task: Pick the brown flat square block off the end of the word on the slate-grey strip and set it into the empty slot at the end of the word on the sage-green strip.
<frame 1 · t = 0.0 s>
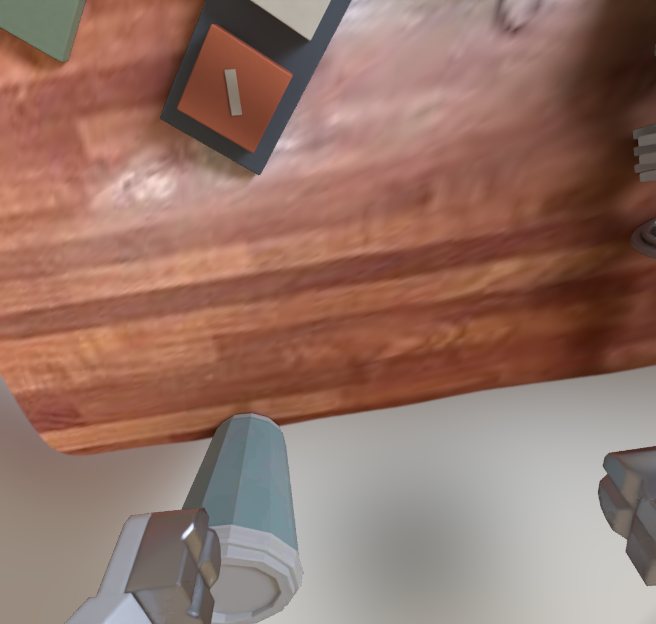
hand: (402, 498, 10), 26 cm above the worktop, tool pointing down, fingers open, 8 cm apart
brown flat square block: (237, 89, 29), point 1 cm above the worktop, touching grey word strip
disposable coffee cup: (250, 437, 45), on the worktop
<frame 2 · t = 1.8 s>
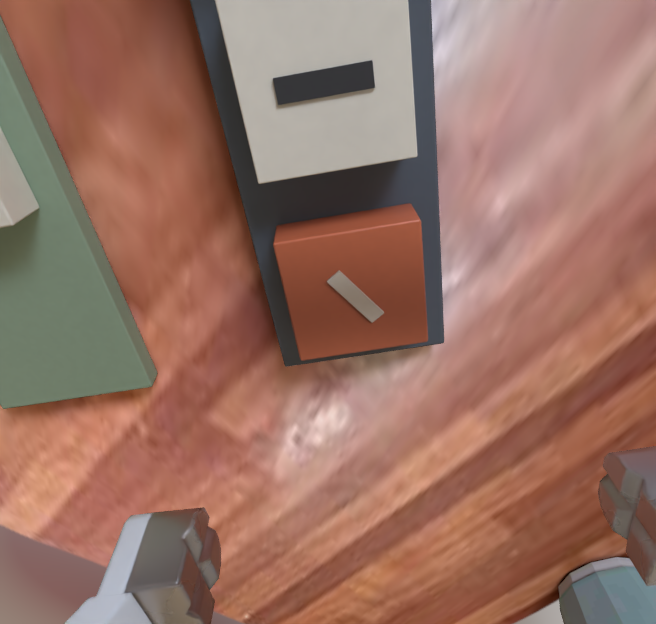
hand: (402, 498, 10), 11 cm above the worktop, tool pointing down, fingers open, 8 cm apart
brown flat square block: (351, 274, 18), point 1 cm above the worktop, touching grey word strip
disposable coffee cup: (602, 581, 33), on the worktop
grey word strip: (321, 74, 16), on the worktop
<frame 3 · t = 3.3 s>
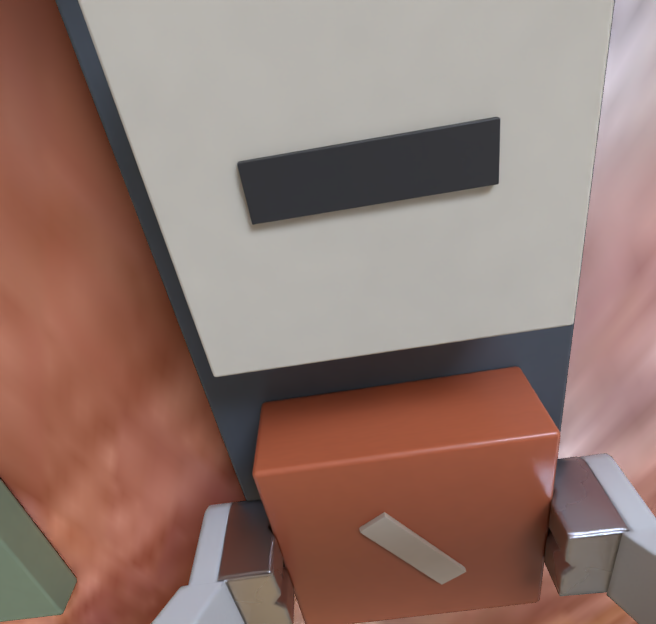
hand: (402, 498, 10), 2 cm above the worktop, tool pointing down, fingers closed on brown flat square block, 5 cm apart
brown flat square block: (398, 470, 10), point 1 cm above the worktop, touching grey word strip, gripper
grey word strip: (351, 128, 8), on the worktop
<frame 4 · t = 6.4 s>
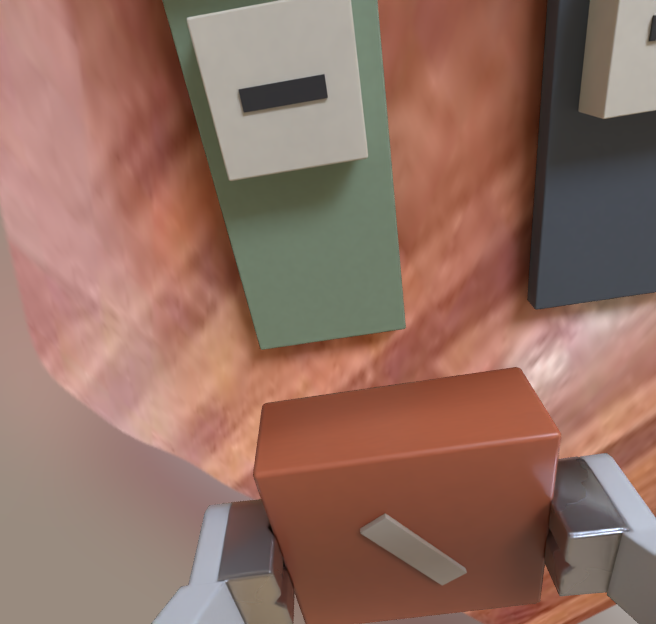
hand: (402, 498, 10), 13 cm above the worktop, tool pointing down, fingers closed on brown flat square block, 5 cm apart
brown flat square block: (399, 471, 10), point 13 cm above the worktop, touching gripper
green word strip: (287, 85, 18), on the worktop
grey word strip: (642, 22, 17), on the worktop
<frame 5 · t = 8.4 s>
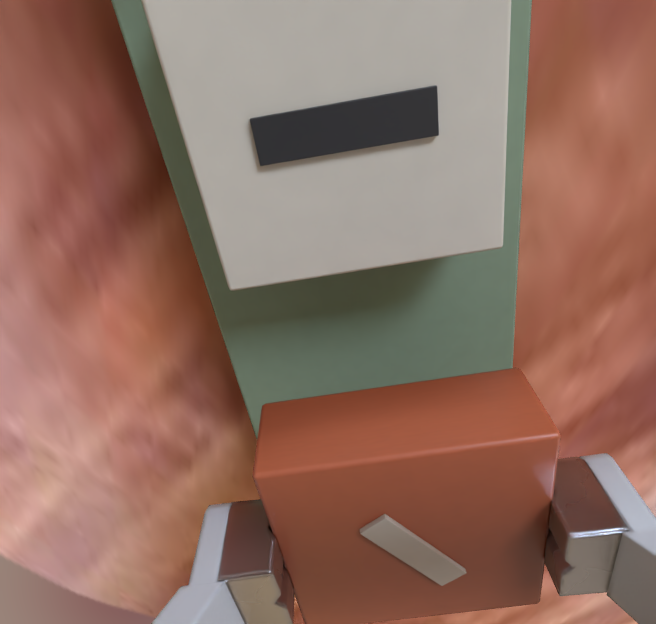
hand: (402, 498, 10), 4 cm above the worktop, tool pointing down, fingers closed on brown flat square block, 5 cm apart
brown flat square block: (399, 471, 10), point 3 cm above the worktop, touching gripper
green word strip: (336, 102, 10), on the worktop
when the fingers open (2 cm above the worktop, at t = 9.5 s): brown flat square block stays where it is, resting on green word strip.
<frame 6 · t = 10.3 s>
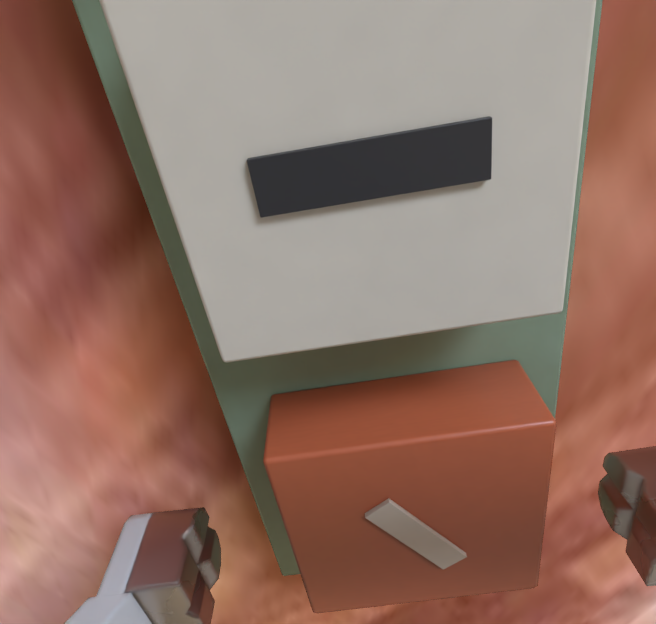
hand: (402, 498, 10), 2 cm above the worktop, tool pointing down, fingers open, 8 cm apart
brown flat square block: (402, 461, 11), point 1 cm above the worktop, touching green word strip
green word strip: (352, 127, 8), on the worktop
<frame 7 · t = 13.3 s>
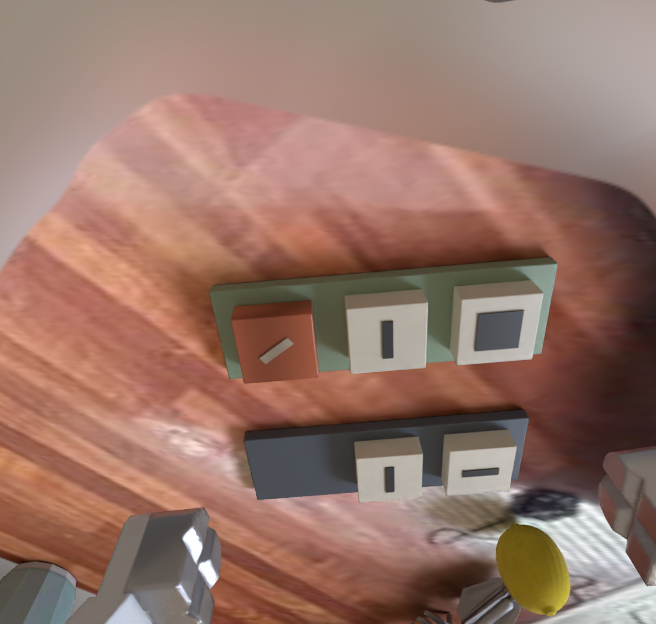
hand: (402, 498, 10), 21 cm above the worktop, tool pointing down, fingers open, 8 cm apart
brown flat square block: (278, 334, 32), point 1 cm above the worktop, touching green word strip
lemon: (513, 522, 44), on the worktop
disposable coffee cup: (42, 578, 46), on the worktop
green word strip: (381, 317, 32), on the worktop
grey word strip: (384, 451, 39), on the worktop
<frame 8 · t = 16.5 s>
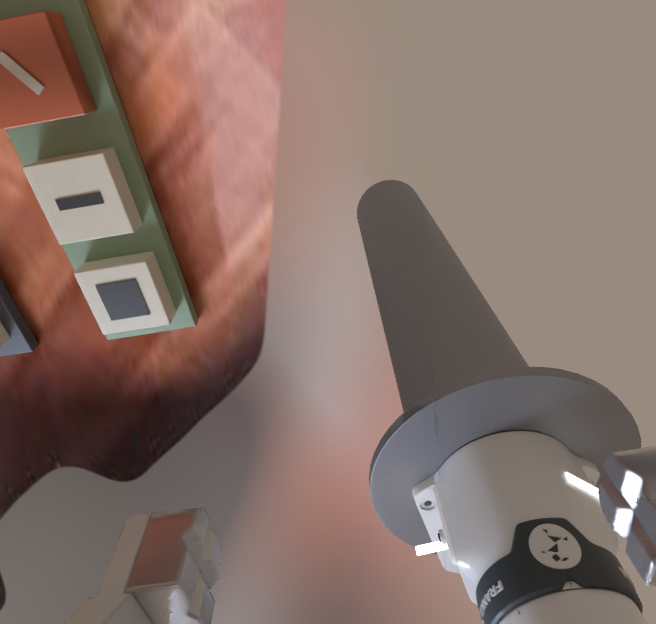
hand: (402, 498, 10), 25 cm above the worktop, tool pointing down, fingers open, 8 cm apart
brown flat square block: (38, 71, 27), point 1 cm above the worktop, touching green word strip
green word strip: (97, 188, 31), on the worktop
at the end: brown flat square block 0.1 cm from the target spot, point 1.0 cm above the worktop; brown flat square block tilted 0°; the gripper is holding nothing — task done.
